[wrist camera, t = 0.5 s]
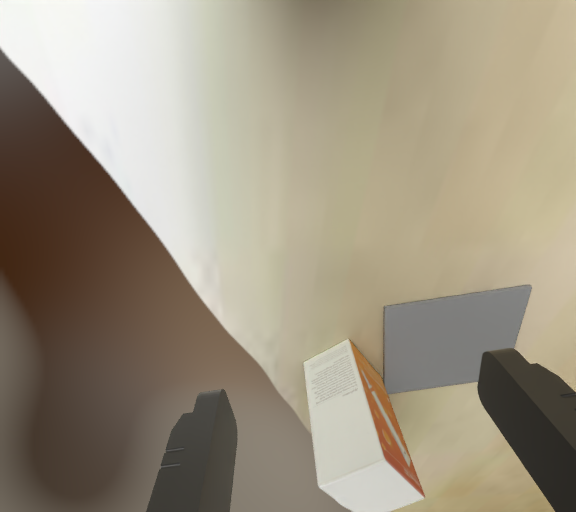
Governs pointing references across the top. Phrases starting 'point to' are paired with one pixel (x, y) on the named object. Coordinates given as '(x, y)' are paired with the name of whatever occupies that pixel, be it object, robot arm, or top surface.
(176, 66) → the top surface
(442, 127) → the top surface
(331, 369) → the small box
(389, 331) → the mat
